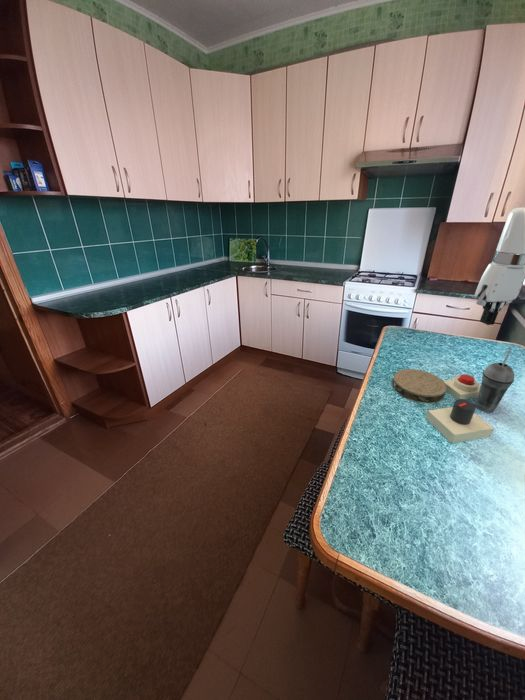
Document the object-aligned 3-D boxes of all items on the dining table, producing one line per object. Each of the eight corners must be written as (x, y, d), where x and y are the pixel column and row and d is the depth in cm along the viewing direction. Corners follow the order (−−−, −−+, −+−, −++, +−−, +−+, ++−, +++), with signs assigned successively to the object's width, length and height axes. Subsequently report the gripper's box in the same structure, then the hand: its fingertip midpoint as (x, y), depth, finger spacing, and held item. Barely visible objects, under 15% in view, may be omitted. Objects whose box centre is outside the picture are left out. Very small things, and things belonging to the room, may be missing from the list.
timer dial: (457, 411, 83) (463, 396, 80) (474, 421, 79) (480, 406, 76) (445, 415, 81) (451, 400, 79) (462, 426, 77) (468, 411, 75)
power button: (466, 378, 97) (467, 373, 96) (476, 384, 93) (477, 380, 93) (455, 379, 96) (457, 375, 95) (465, 386, 93) (467, 381, 92)
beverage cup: (466, 407, 89) (489, 349, 80) (475, 398, 93) (497, 342, 84) (495, 419, 84) (522, 359, 75) (502, 409, 88) (529, 350, 79)
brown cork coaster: (444, 409, 89) (447, 401, 87) (388, 394, 96) (390, 386, 94) (444, 383, 101) (446, 375, 99) (395, 372, 108) (396, 365, 106)
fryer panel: (461, 413, 87) (464, 404, 85) (490, 436, 78) (494, 427, 77) (425, 418, 85) (428, 410, 83) (451, 443, 76) (454, 434, 75)
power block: (465, 382, 101) (469, 373, 99) (485, 396, 94) (489, 386, 92) (440, 386, 99) (443, 376, 97) (458, 400, 92) (462, 390, 90)
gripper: (520, 255, 81) (496, 316, 90) (474, 257, 79) (454, 320, 87) (548, 260, 75) (519, 326, 83) (499, 263, 72) (475, 330, 81)
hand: (486, 323), depth 85 cm, fingers closed
